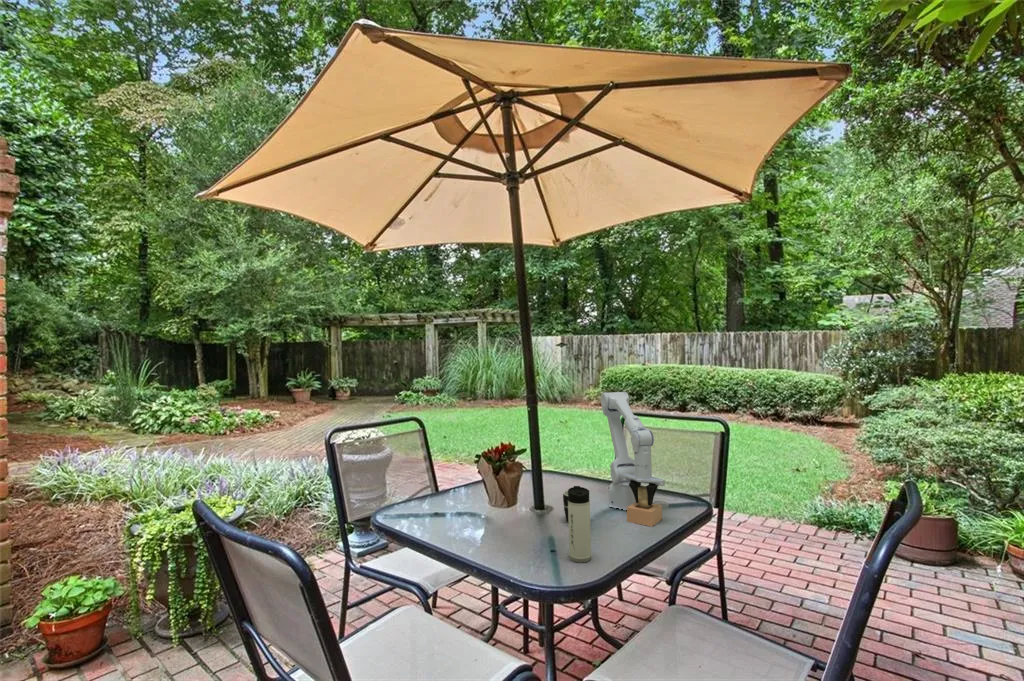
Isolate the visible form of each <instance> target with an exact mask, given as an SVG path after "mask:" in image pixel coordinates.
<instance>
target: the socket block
mask: <svg viewBox="0 0 1024 681" xmlns="http://www.w3.org/2000/svg"><path fill="white" fill-rule="evenodd" d="M661 519H662V520H663V505H662V504H659V503H653V504H652V505H651V506H650V509H643V508H638V503H636V502H635V503H633V504H631V505H630V506H628V507H627V511H626V522H627V521H628V522H627V523H630V522H633V523H632V524H635V523H637V524H636V525H640V524H642V525H641V526H644V525H647V526H646V527H649V526H651V527H650V528H653V527H654V526H656V523H657V522H658V523H659V522H661V521H662V520H661ZM660 520H661V521H660ZM658 523H657V524H658ZM653 525H654V526H653ZM652 526H653V527H652Z"/></svg>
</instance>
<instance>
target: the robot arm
mask: <svg viewBox="0 0 1024 681" xmlns="http://www.w3.org/2000/svg"><path fill="white" fill-rule="evenodd" d="M600 405H601V409H602V410H601V411H602V413H603V415H604V417H606V418H607V423H608V427H609V433H610V436H611V441H612V445H613V452H614V456H615V459H613V461H612V462H611V463H610V466H609V468H610V478H611V481H612V482H611V483H610V485H609V489H608V497H609V498H608V499H609V505H608V507H609V506H610V505H611V506H610V507H612V506H613V507H614V508H613V509H616V508H619V509H618V510H621V509H623V510H622V511H626V510H627V507H628V506H630V505H631V504H633V503H635V502H636V503H638V487H639V486H642V483H643V484H646V485H645V486H646V488H647V493H648V505H649V506H651V505H652V504H654V498H655V494H656V491H657V490H658V488H659V487H664V486H665V483H666V482H665V481H666V480H665V479H664V478H659V477H654V476H653V473H652V472H653V471H652V470H653V469H652V446H653V445H654V443H655V437H654V433H653V431H652V429H650V428H647V427H645V425H644V424H643V422H642V420H641V419H640V417H639V416H638V415H635V414H634V413H633V410H632V408H631V407H630V396H629V394H628V392H626V391H617V392H616V391H613V392H603V393H602V394H601V396H600ZM621 417H622V418H623V419H624V426H625V427H626V430H627V431H628V433H629V434H630V443H631V445H632V446H631V447H632V451H633V452H634V453H633V454H634V455H633V456H634V459H633V458H632V457H630V456H629V452H628V446H627V443H626V439H625V438H626V437H625V433H624V428H623V424H622V420H621ZM610 507H609V508H610Z"/></svg>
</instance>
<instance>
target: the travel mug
mask: <svg viewBox="0 0 1024 681" xmlns="http://www.w3.org/2000/svg"><path fill="white" fill-rule="evenodd" d="M567 490H568V521H569V523H568V545H569V546H568V548H569V551H568V552H569V559H570V560H571V562H575V563H578V562H581V564H582V563H583V562H584V563H587V562H590V561H591V560H592V540H591V539H592V538H591V536H592V535H591V534H592V532H591V504H590V502H591V500H590V490H589V489H588V488H585V487H582V486H581V485H573V487H570V488H568V489H567ZM584 563H583V564H584Z"/></svg>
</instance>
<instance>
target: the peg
mask: <svg viewBox="0 0 1024 681" xmlns="http://www.w3.org/2000/svg"><path fill="white" fill-rule="evenodd" d="M646 486H647V485H641V486H639V487H638V508H643V509H650V506H649V505H648V493H647V488H646Z"/></svg>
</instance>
